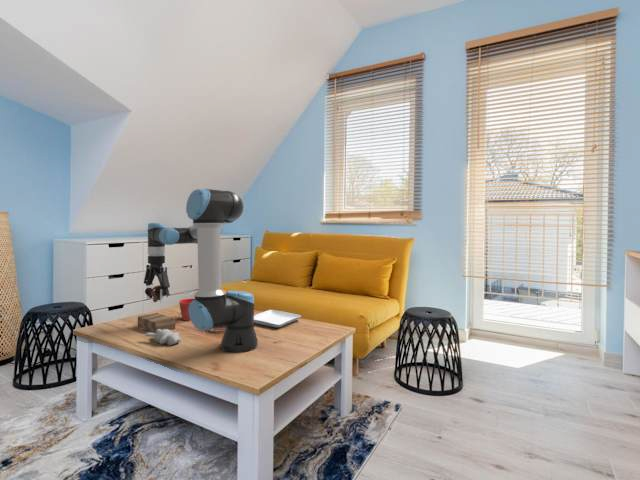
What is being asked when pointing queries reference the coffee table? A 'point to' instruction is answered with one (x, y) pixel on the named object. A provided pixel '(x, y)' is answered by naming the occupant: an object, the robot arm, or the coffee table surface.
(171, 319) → the walnut block
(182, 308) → the flower pot
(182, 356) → the coffee table surface
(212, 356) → the coffee table surface
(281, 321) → the salad plate
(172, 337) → the bunny figurine
